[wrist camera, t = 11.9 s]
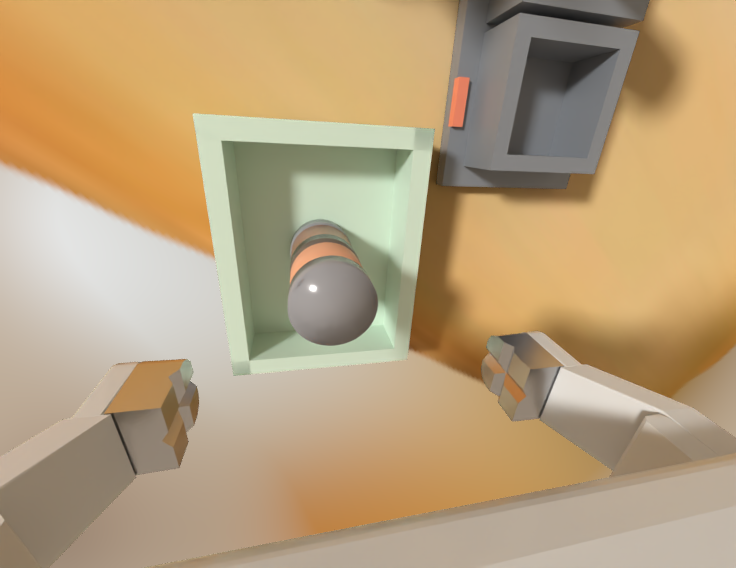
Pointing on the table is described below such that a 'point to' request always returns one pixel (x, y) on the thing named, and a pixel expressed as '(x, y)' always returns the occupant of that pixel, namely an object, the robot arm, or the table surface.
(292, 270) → the fuse
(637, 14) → the block
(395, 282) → the tray
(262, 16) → the table surface
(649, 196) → the table surface
